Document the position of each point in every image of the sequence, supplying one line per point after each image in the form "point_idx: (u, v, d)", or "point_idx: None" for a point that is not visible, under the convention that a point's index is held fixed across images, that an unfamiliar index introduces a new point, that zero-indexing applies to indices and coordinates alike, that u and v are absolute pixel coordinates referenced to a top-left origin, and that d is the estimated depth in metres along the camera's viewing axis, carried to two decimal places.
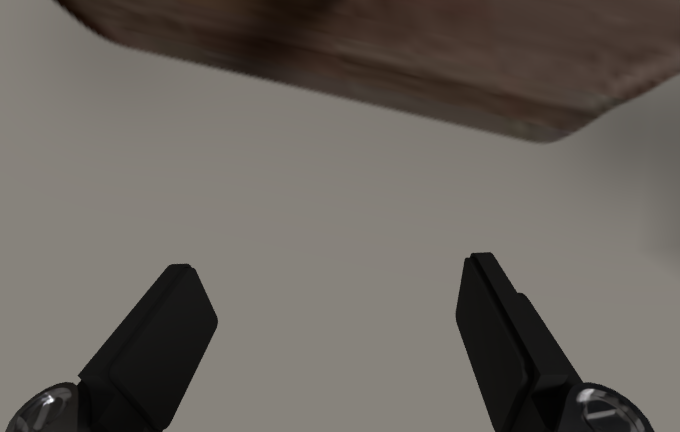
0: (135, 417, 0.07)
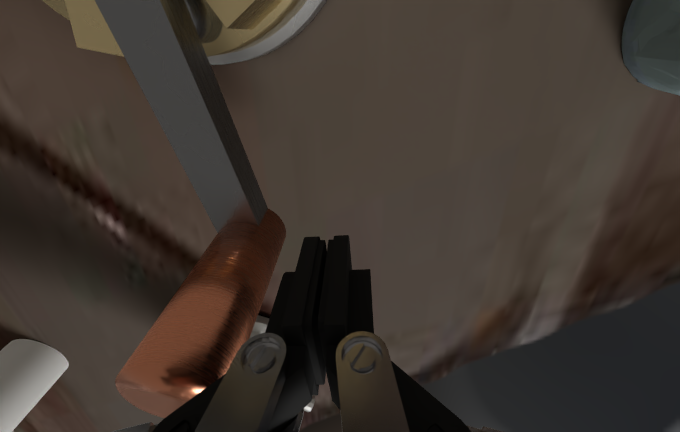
0: (311, 369, 0.08)
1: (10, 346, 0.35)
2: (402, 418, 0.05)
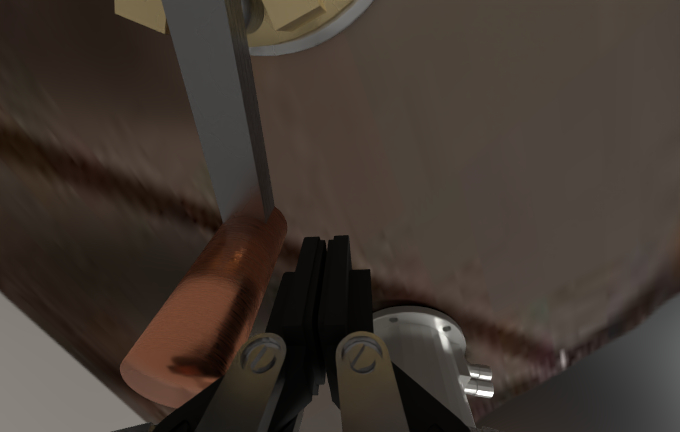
0: (311, 369, 0.08)
1: None
2: (402, 418, 0.05)
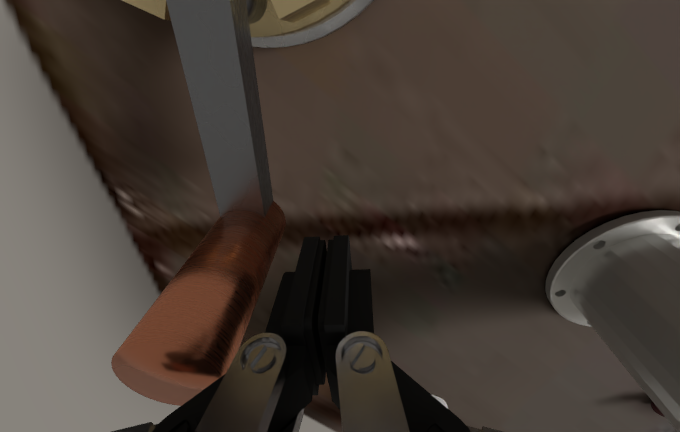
0: (311, 369, 0.08)
1: None
2: (402, 418, 0.05)
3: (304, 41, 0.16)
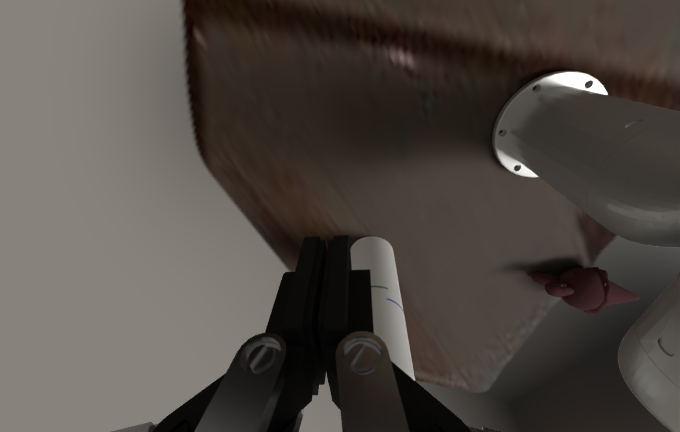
0: (311, 369, 0.08)
1: (355, 246, 0.46)
2: (402, 418, 0.05)
3: None
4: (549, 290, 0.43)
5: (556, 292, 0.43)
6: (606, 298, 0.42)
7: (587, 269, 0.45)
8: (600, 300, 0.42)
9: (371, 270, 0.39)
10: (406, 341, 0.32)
